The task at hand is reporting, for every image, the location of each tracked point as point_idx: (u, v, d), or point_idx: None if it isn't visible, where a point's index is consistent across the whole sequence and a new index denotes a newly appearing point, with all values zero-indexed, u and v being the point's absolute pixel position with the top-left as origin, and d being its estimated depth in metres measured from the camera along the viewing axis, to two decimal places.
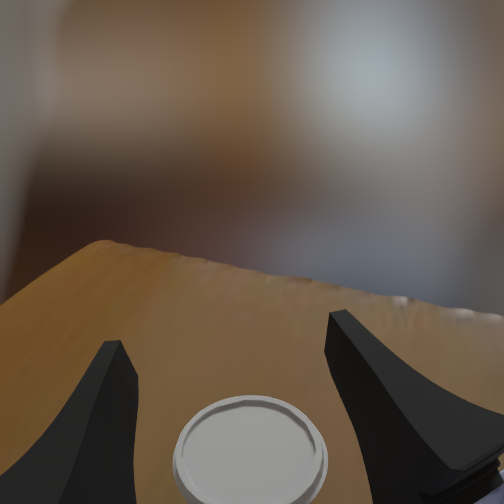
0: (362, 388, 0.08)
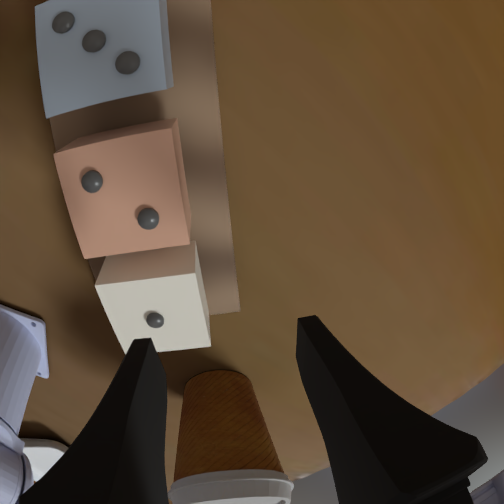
0: (326, 397, 0.08)
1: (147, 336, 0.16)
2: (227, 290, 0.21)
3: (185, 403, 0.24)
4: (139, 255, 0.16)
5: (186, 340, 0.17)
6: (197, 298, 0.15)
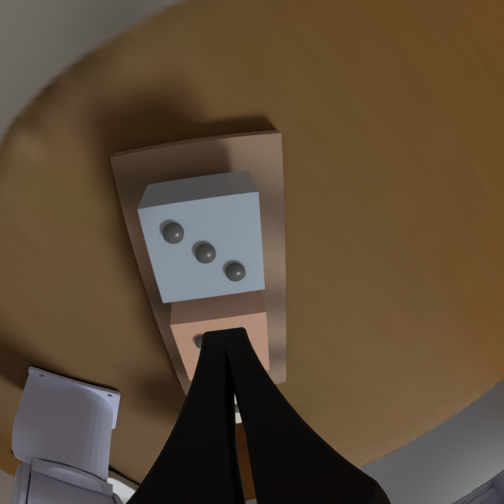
0: (241, 412, 0.08)
1: None
2: (278, 371, 0.26)
3: None
4: None
5: None
6: None
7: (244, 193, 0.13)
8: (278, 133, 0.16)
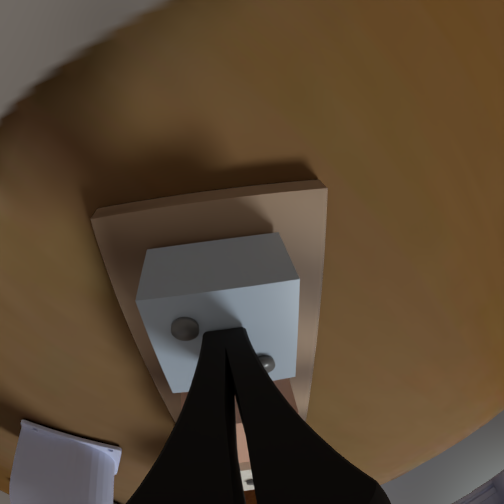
0: (241, 413, 0.08)
1: None
2: None
3: None
4: None
5: None
6: None
7: (281, 281, 0.10)
8: (323, 188, 0.12)
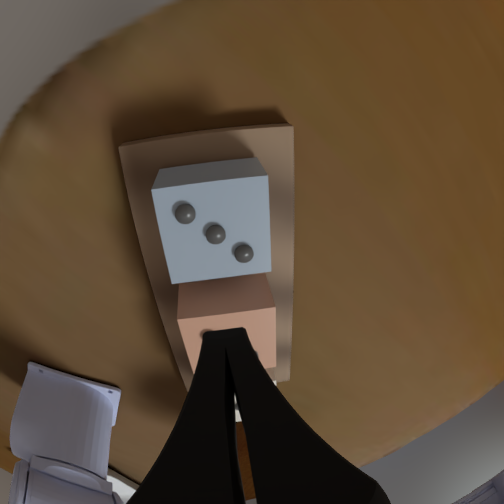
0: (241, 412, 0.08)
1: None
2: (282, 368, 0.26)
3: (237, 441, 0.30)
4: None
5: None
6: None
7: (254, 176, 0.13)
8: (290, 126, 0.16)
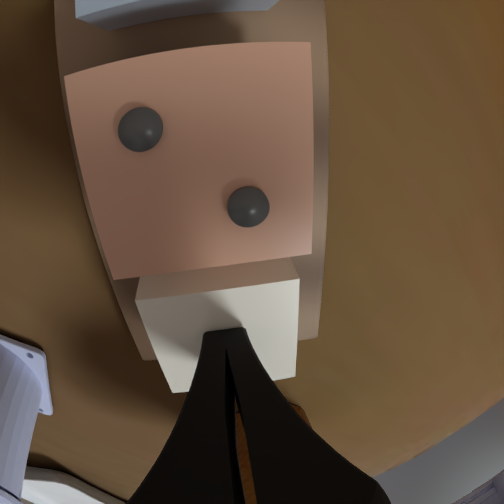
0: (241, 412, 0.08)
1: None
2: (306, 312, 0.15)
3: None
4: None
5: None
6: (294, 315, 0.10)
7: None
8: None
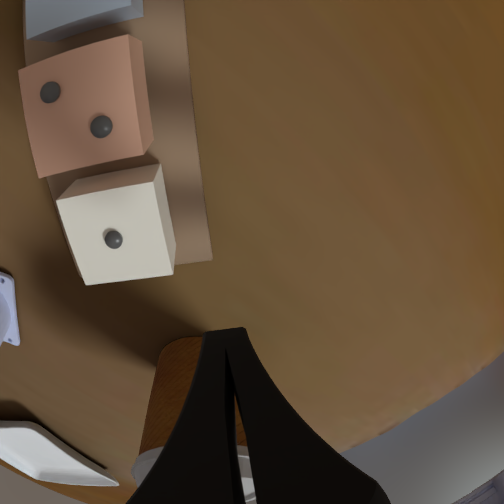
0: (241, 412, 0.08)
1: (106, 261, 0.15)
2: (197, 234, 0.19)
3: (157, 372, 0.23)
4: (104, 177, 0.15)
5: (146, 266, 0.16)
6: (156, 212, 0.14)
7: None
8: None
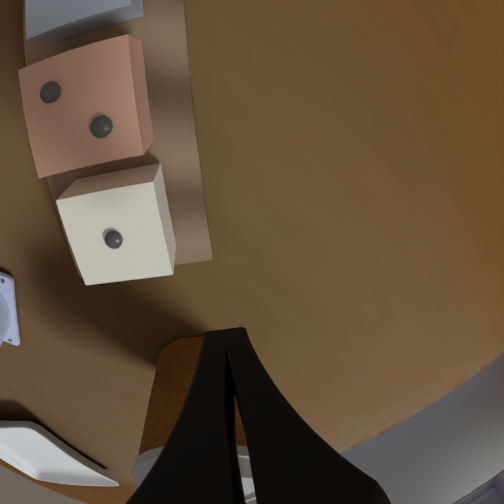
0: (241, 412, 0.08)
1: (106, 261, 0.15)
2: (197, 234, 0.19)
3: (157, 372, 0.23)
4: (104, 177, 0.15)
5: (146, 266, 0.16)
6: (156, 212, 0.14)
7: None
8: None
